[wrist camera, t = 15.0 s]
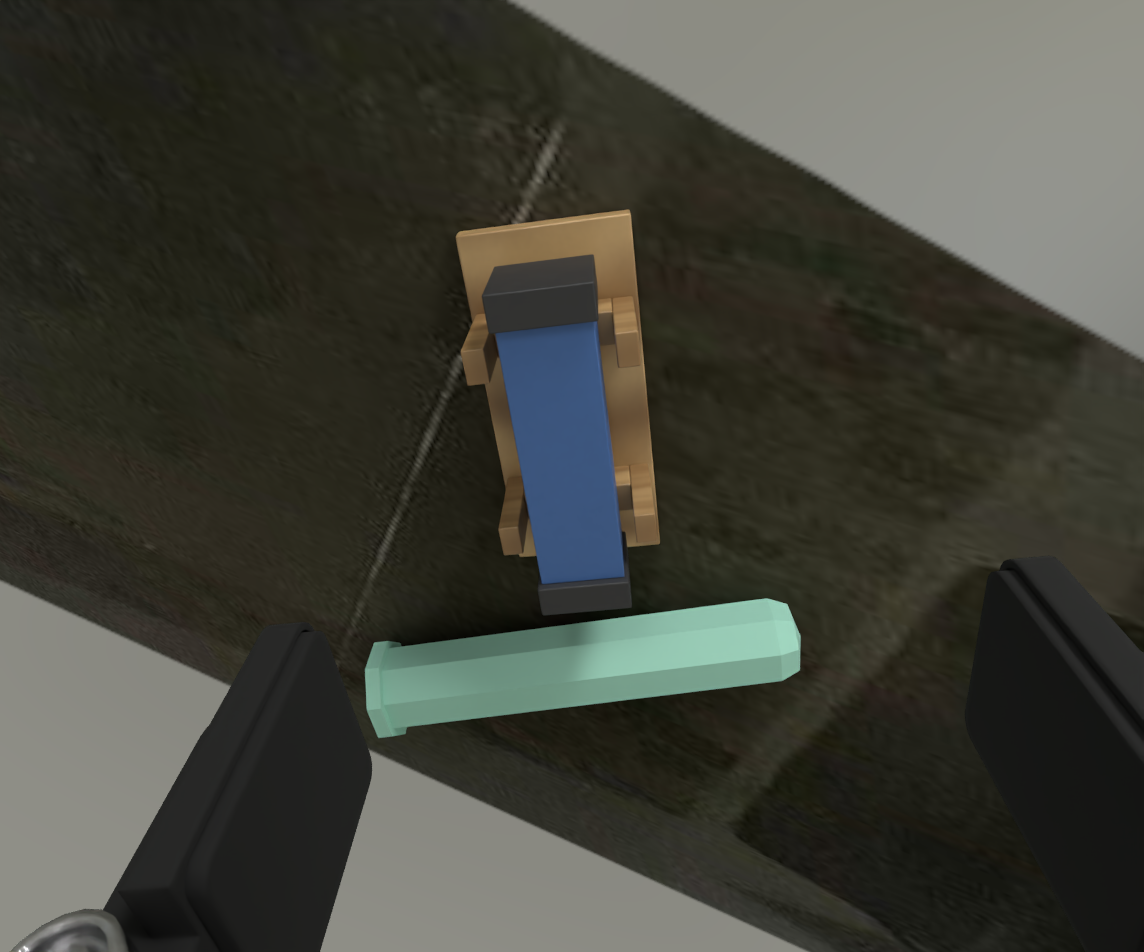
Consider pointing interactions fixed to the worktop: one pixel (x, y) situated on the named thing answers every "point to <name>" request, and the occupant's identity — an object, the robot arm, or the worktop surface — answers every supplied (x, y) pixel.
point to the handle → (561, 429)
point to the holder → (619, 357)
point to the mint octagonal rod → (580, 664)
